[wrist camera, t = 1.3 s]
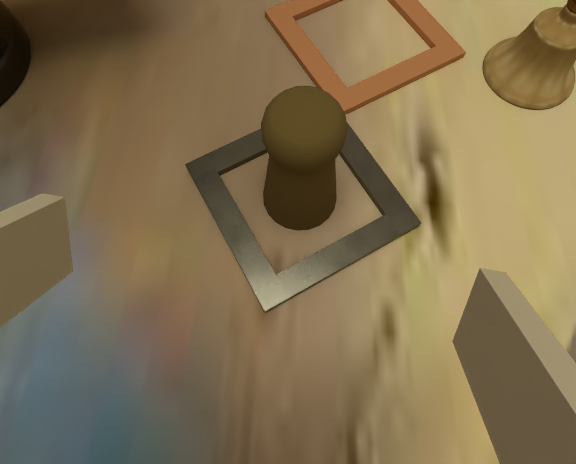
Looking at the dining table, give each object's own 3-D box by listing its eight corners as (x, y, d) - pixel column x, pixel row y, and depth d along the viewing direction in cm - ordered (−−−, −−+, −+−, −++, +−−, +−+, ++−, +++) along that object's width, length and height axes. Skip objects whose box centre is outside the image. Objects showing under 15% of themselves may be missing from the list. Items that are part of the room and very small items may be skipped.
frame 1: (264, 16, 40) (264, 10, 39) (380, -33, 42) (381, -38, 41) (339, 117, 35) (340, 112, 35) (463, 57, 38) (466, 52, 37)
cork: (280, 154, 34) (277, 56, 24) (346, 178, 33) (372, 88, 23) (251, 214, 32) (233, 135, 22) (320, 241, 31) (336, 173, 21)
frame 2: (186, 167, 34) (185, 164, 33) (327, 101, 36) (328, 96, 35) (265, 312, 29) (264, 311, 29) (419, 225, 32) (421, 223, 31)
